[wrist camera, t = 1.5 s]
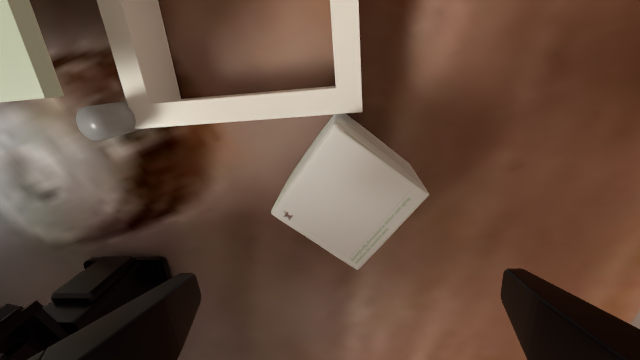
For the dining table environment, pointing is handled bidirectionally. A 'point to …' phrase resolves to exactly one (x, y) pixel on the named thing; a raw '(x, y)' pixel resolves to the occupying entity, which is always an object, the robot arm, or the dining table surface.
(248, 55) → the dining table surface
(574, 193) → the dining table surface
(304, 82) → the dining table surface
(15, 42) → the cover
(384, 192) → the small box
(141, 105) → the frame
